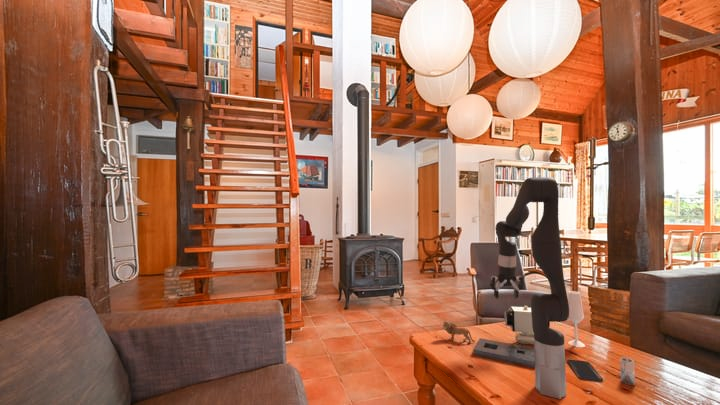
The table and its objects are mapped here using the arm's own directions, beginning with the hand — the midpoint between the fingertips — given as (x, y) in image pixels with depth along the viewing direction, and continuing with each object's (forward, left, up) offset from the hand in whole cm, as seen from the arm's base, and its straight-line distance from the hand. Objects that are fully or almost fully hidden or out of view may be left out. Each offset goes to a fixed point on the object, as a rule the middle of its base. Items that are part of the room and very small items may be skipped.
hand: (506, 297), depth 147 cm
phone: (-9, -28, -23) cm, 38 cm away
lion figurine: (-4, +22, -23) cm, 32 cm away
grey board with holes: (-10, 0, -22) cm, 24 cm away
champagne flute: (+19, -27, -23) cm, 40 cm away
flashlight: (-11, -41, -22) cm, 48 cm away
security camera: (+9, -7, -23) cm, 25 cm away
